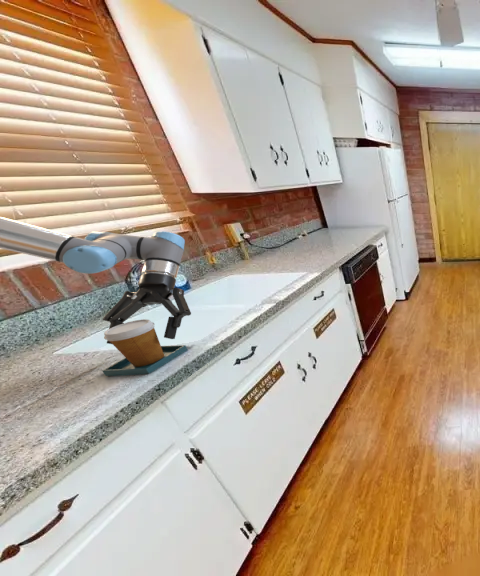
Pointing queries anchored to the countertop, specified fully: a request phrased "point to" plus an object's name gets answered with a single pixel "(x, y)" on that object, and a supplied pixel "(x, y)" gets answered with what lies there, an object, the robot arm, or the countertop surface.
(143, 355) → the disposable coffee cup
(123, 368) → the cup tray
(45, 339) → the countertop surface
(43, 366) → the countertop surface
